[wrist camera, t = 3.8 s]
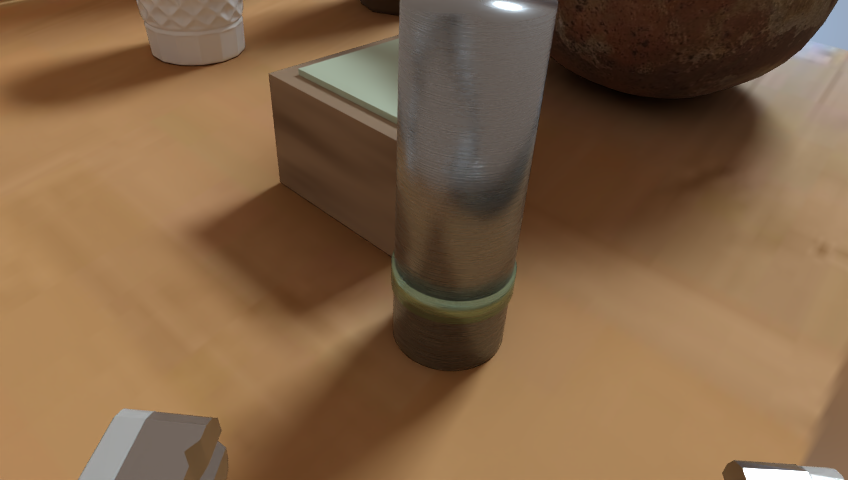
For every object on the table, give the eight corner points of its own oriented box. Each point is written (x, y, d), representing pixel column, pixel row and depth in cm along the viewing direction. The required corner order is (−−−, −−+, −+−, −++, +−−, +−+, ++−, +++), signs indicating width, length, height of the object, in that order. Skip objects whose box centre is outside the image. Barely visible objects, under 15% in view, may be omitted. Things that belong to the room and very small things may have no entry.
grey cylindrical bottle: (451, 393, 23) (489, 36, 15) (366, 326, 26) (361, -10, 18) (528, 330, 26) (594, 0, 18) (445, 276, 28) (470, -35, 20)
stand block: (397, 260, 29) (400, 135, 25) (280, 181, 34) (267, 67, 30) (519, 189, 34) (536, 77, 30) (402, 130, 39) (405, 27, 35)
